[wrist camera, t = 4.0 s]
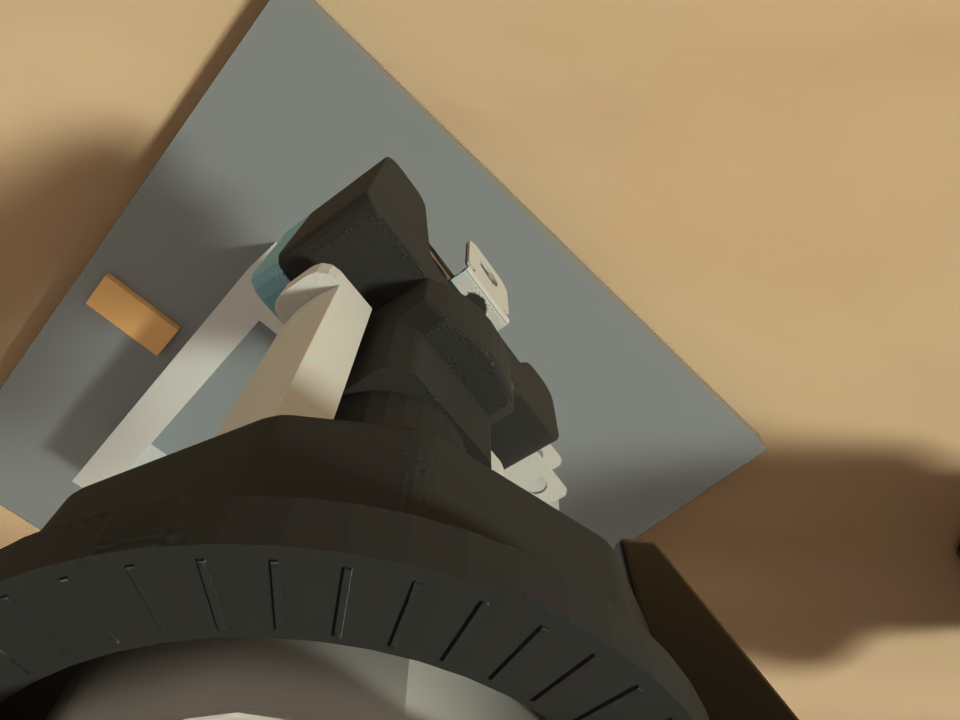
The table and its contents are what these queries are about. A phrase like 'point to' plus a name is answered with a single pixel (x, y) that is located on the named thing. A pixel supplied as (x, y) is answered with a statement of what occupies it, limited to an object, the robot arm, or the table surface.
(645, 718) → the push button
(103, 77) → the table surface
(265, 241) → the socket board
